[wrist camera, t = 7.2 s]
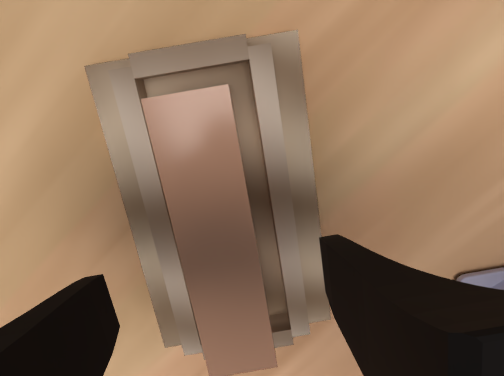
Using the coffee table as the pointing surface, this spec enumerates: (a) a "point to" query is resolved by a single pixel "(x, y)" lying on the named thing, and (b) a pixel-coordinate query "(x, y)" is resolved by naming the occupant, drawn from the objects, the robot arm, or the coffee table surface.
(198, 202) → the clay strip
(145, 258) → the framed rectangular tray
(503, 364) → the robot arm
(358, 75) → the coffee table surface
